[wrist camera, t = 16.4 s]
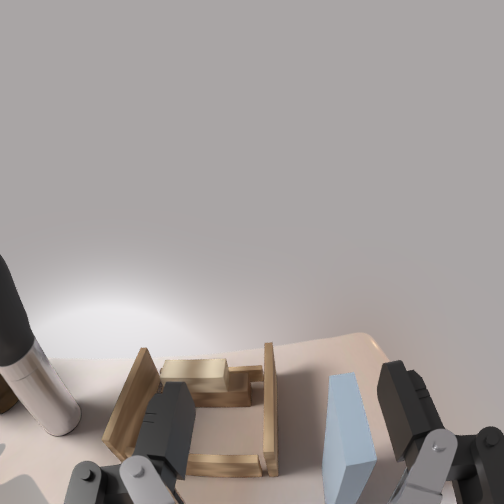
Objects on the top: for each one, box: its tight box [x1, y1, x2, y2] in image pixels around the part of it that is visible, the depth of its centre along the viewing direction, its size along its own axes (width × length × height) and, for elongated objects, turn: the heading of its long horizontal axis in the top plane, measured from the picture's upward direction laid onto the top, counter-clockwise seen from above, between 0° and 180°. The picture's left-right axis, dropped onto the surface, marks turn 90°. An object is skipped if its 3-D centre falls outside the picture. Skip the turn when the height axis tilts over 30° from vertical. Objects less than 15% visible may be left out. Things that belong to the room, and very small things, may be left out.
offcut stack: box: [159, 359, 252, 407], centre depth 46 cm, size 14×4×8 cm, turn 88°
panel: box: [322, 372, 377, 504], centre depth 24 cm, size 2×9×20 cm, turn 178°
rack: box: [101, 343, 278, 477], centre depth 41 cm, size 22×20×8 cm
